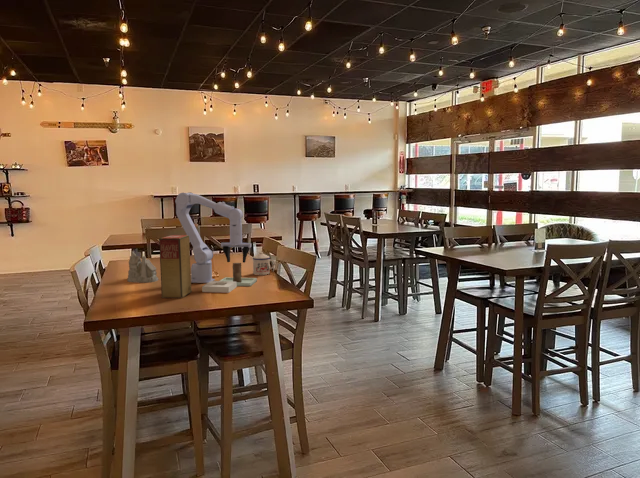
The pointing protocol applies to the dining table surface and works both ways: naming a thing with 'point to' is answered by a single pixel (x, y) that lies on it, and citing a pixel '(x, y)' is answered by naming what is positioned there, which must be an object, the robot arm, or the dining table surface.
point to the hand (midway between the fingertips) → (236, 262)
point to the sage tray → (244, 281)
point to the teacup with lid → (262, 264)
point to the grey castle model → (141, 270)
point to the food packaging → (175, 266)
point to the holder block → (219, 286)
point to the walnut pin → (237, 272)
